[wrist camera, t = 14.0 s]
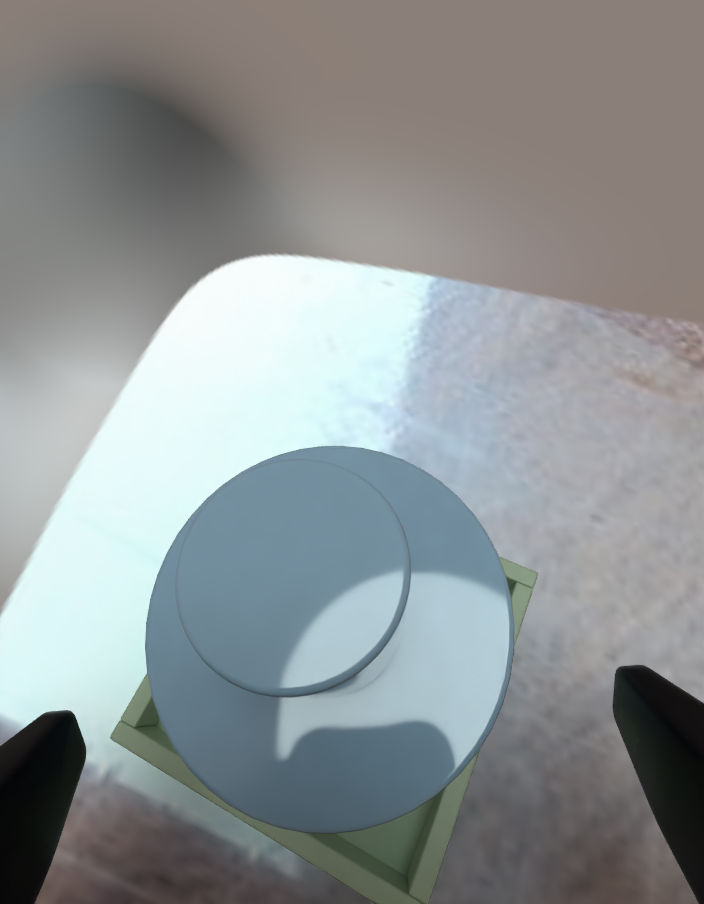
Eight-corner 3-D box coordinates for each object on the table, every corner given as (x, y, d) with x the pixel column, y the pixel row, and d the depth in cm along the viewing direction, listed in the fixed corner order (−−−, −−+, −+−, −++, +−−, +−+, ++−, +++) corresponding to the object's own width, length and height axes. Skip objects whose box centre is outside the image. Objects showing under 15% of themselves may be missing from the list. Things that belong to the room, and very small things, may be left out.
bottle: (489, 703, 15) (718, 713, 5) (313, 801, 15) (83, 1085, 4) (399, 535, 18) (406, 273, 7) (243, 612, 17) (-26, 455, 6)
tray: (415, 900, 14) (419, 931, 12) (141, 733, 16) (107, 738, 14) (523, 586, 17) (539, 572, 15) (281, 482, 19) (269, 458, 18)
